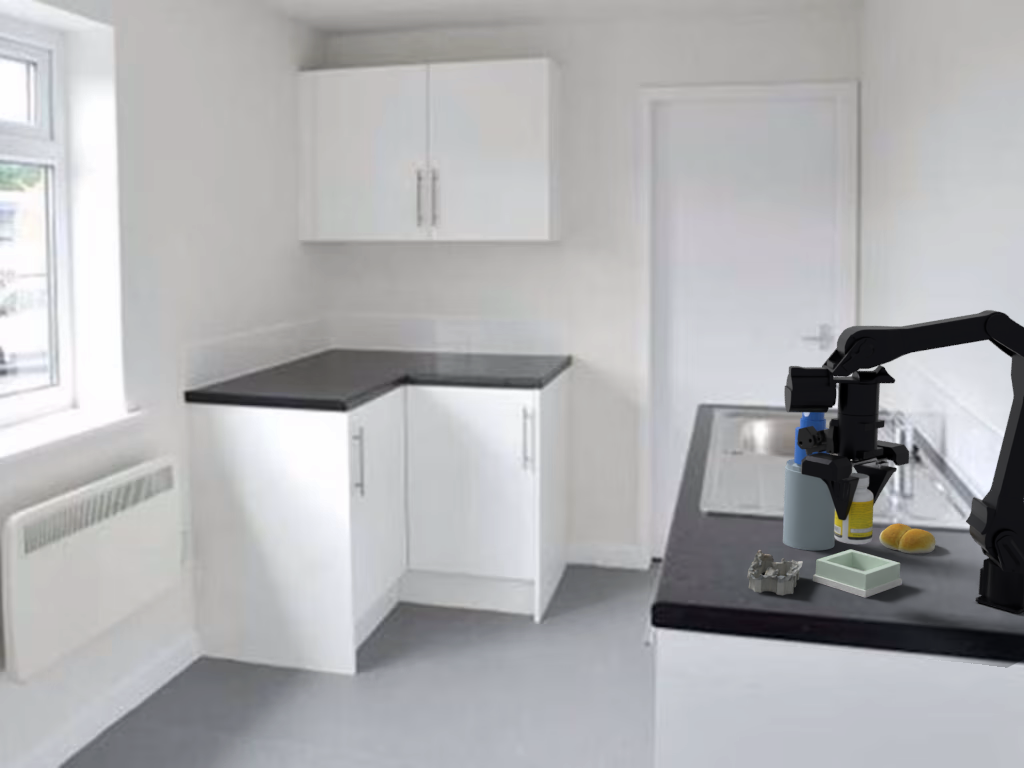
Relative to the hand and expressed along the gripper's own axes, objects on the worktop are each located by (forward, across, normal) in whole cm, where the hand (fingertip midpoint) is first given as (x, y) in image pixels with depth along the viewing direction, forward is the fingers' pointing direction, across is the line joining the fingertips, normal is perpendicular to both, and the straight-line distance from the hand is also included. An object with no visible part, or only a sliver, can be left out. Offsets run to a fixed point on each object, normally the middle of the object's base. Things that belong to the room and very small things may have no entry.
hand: (853, 516), depth 152 cm
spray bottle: (+13, -19, -22) cm, 32 cm away
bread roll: (+13, -31, -10) cm, 35 cm away
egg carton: (+13, +3, -12) cm, 18 cm away
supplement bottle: (+4, 0, 0) cm, 4 cm away
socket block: (+13, -7, -4) cm, 15 cm away
